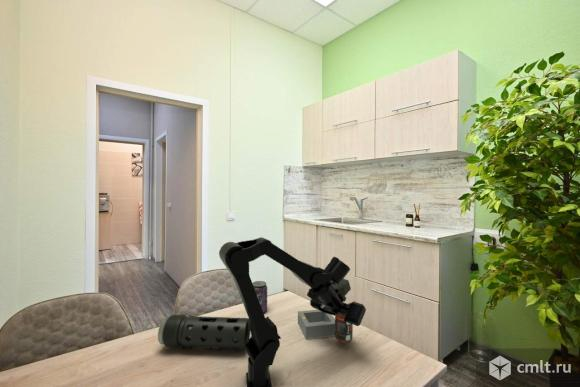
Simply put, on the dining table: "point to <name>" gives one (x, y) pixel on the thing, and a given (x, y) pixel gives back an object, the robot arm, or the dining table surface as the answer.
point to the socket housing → (316, 324)
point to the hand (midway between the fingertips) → (346, 318)
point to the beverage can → (261, 293)
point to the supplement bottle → (343, 328)
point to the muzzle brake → (204, 332)
